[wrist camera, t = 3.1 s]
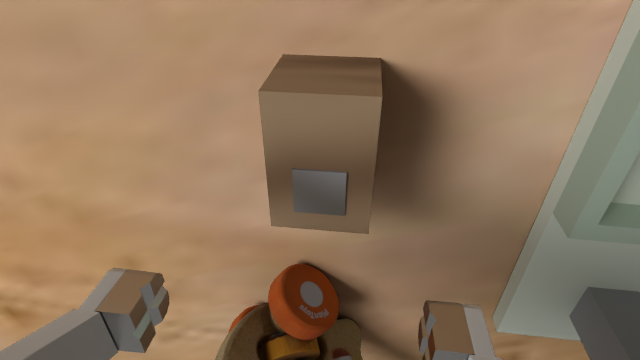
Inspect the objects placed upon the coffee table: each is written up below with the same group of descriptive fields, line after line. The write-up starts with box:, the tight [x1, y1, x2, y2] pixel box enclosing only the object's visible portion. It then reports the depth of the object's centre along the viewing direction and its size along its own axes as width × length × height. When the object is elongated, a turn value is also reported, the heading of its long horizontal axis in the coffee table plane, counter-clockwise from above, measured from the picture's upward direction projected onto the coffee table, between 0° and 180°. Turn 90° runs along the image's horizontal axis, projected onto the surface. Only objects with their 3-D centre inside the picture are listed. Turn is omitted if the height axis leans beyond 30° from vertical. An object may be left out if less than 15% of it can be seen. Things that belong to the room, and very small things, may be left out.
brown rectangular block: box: [258, 54, 382, 234], centre depth 18 cm, size 7×5×5 cm
